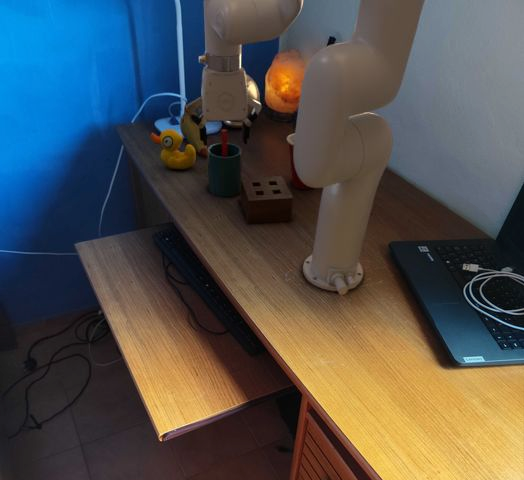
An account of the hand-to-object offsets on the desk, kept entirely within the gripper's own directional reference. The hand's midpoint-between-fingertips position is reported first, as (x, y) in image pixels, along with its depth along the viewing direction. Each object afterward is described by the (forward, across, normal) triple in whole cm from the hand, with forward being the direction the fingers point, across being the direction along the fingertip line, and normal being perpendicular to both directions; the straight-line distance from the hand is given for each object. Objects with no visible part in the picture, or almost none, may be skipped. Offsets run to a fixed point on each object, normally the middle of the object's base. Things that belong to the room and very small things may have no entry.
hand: (224, 142), depth 111 cm
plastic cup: (+12, +21, 0) cm, 24 cm away
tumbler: (+12, 0, 0) cm, 12 cm away
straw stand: (+12, +8, -12) cm, 19 cm away
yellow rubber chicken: (+12, -5, +26) cm, 29 cm away
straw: (+11, 0, 0) cm, 11 cm away
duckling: (+12, -11, +13) cm, 21 cm away
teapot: (+12, +10, +42) cm, 45 cm away
